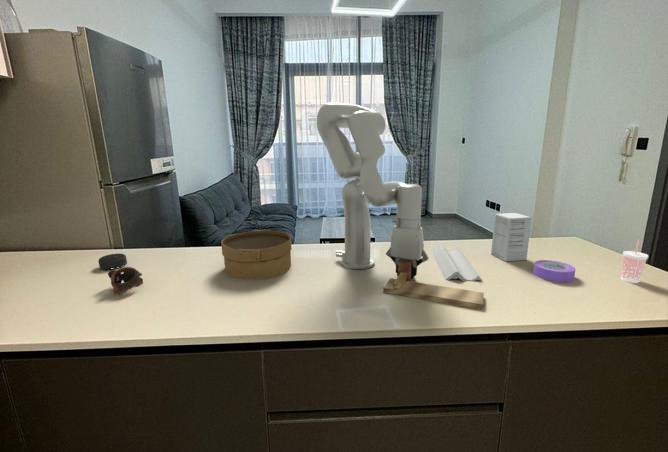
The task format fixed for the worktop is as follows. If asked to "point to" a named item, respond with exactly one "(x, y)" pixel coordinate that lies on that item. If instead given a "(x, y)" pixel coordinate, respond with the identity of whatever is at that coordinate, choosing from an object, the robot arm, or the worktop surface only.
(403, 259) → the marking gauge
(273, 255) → the steamer basket
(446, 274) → the crown molding
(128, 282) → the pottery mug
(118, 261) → the smart speaker
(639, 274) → the beverage cup
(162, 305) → the worktop surface
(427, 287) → the oak board
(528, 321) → the worktop surface
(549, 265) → the masking tape
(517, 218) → the supplement box
